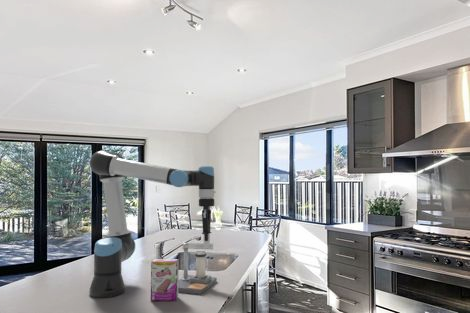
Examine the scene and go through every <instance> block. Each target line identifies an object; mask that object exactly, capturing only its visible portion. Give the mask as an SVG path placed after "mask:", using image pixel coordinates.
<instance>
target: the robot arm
mask: <svg viewBox="0 0 470 313" xmlns="http://www.w3.org/2000/svg"><path fill="white" fill-rule="evenodd" d="M89 168H90V169H91V171H92V172H93V173H95V174H97V175H98V176H99V177H98V178H99V181H100V182H102V183H103V190H104V200H105V208H106V217H107V225H108V226H107V227H108V232H107V234H106V235H105V237H104V238H101V239H99V240H97V241H96V242H95V244H94V248H93V252H94V255H93V256H94V258H93V277H92V281H91V284H90V288H89V296H90V297H92V298H100V299H102V298H103V299H104V298H112V297H117V296H120V295H121V294H124V293H125V291H126V284H125V282H124V278H123V274H122V263H123V262H124V261H127V260H129V259H130V258H131V256H133V254H134V253H135V251H136V241H135V239H134V238H133V237H132V232H131V230H129V229H128V226H127V217H126V208H125V199H124V190H123V184H122V181H123V180H124V178H125V177H127V178H128V177H129V178H134V179H138V180H144V181H149V182H154V183H157V184H164V185H168V186H174V187H175V188H183V187H194V186H195V187H198V206H199V207H202V210H201V219H202V220H201V221H202V233H201V234H202V235H203V243H204V248H210V244H211V241H210V240H211V239H210V237H211V236H210V235H211V234H212V231H211V221H212V218H211V216H212V210H211V207H215V198H214V197H215V194H216V191H215V170H214V169H215V168H214V167H213V166H212V165H211V166H209V165H203V166H202V165H201V166H199V167H198V169H197V170H182V169H177V168H170V167H166V166H161V165H156V164H151V163H145V162H139V161H135V160H131V159H125V157H124V156H123V155H121V153H118V152H116V151H108V150H99V151H96V152H94V153H93V154H92V155H91V157H90V159H89Z"/></svg>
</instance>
